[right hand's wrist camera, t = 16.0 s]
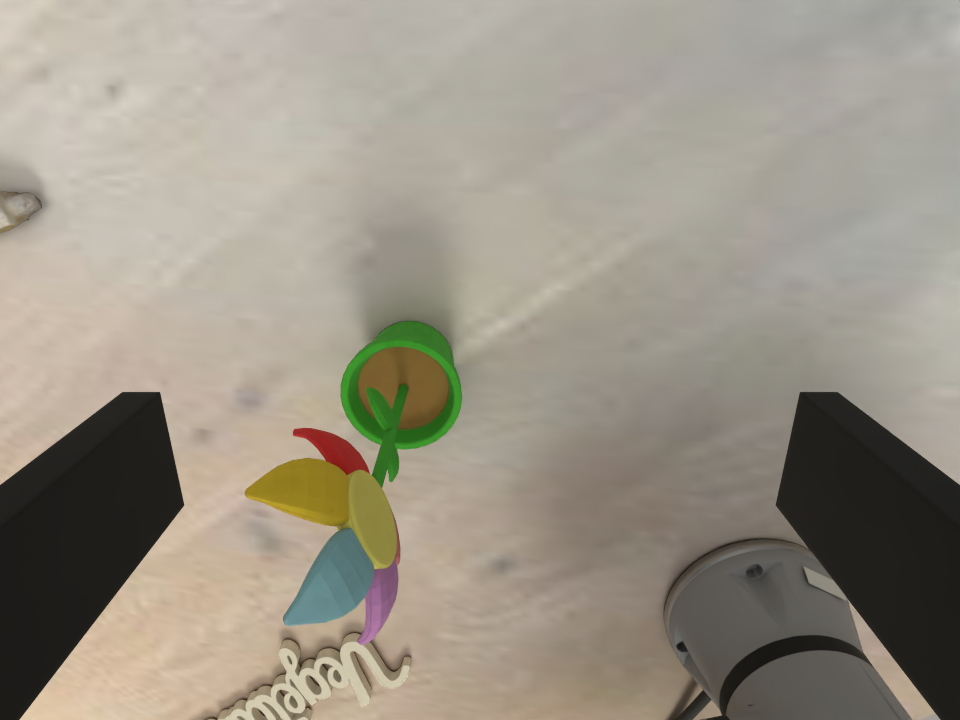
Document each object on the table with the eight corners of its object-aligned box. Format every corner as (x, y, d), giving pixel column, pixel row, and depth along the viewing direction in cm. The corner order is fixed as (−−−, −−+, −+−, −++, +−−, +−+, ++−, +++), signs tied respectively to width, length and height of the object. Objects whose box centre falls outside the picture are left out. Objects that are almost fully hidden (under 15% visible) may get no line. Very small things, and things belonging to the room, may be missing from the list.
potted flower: (337, 326, 44) (178, 556, 21) (435, 286, 43) (383, 481, 20) (393, 431, 47) (309, 732, 24) (486, 397, 46) (492, 677, 23)
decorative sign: (347, 608, 53) (419, 676, 56) (349, 600, 53) (420, 667, 56) (142, 734, 58) (217, 789, 61) (147, 725, 59) (220, 780, 62)
